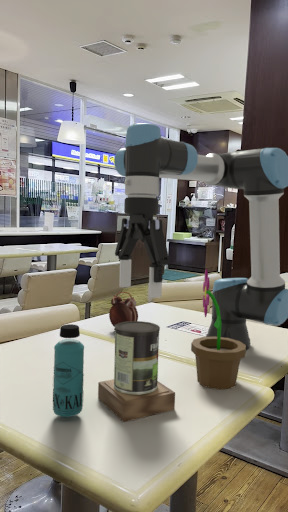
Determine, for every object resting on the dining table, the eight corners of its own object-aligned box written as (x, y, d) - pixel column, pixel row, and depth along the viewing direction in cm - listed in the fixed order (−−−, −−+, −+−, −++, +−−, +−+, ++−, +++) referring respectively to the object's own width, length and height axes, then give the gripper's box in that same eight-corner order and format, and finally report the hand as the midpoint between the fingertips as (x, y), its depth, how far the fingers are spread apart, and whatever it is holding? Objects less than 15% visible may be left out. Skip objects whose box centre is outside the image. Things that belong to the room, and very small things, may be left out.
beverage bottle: (54, 410, 94) (55, 321, 92) (84, 409, 94) (86, 321, 93) (50, 424, 87) (51, 329, 86) (82, 424, 88) (84, 329, 86)
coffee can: (161, 380, 102) (163, 322, 101) (153, 397, 92) (155, 334, 91) (119, 375, 104) (121, 319, 103) (107, 392, 94) (109, 330, 93)
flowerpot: (187, 370, 120) (192, 265, 118) (238, 372, 120) (244, 267, 117) (192, 391, 106) (197, 272, 103) (249, 394, 106) (256, 274, 103)
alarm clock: (138, 332, 158) (139, 292, 157) (131, 335, 154) (132, 294, 153) (115, 327, 164) (115, 289, 163) (107, 330, 160) (108, 290, 159)
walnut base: (145, 388, 107) (145, 372, 107) (174, 409, 96) (175, 391, 96) (98, 398, 100) (98, 381, 100) (123, 422, 89) (124, 403, 89)
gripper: (102, 197, 102) (100, 284, 105) (157, 194, 81) (154, 303, 83) (129, 198, 106) (127, 282, 108) (189, 196, 85) (185, 300, 87)
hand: (139, 291), depth 96 cm, fingers open, 13 cm apart
